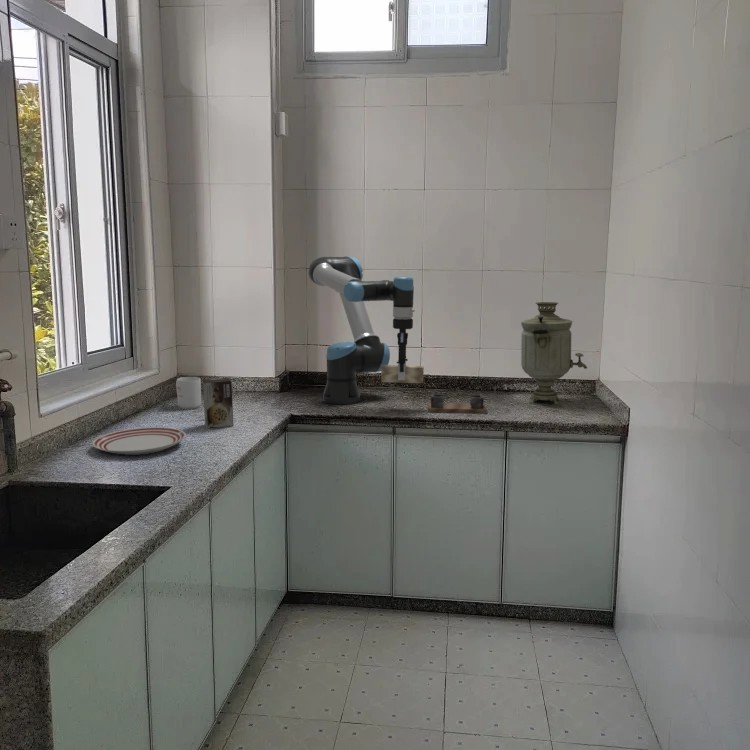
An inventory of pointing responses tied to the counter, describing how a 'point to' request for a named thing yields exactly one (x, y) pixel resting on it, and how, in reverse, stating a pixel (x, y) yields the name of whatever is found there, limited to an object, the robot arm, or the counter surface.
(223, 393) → the coffee box
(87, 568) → the counter surface
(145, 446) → the dinner plate
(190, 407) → the mug
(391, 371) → the slat
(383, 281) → the robot arm
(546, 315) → the samovar
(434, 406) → the slat base
